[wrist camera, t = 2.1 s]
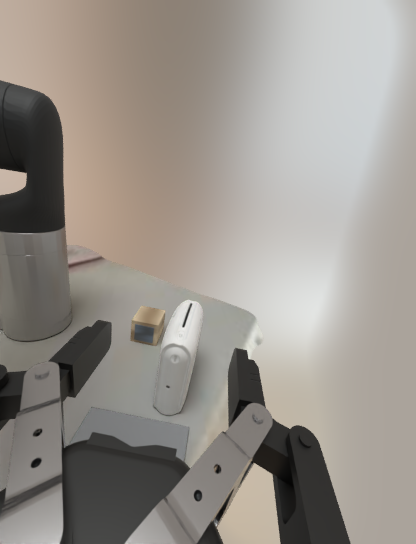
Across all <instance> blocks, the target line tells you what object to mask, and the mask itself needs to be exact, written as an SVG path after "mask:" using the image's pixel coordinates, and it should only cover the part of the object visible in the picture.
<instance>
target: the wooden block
mask: <svg viewBox="0 0 416 544" xmlns="http://www.w3.org/2000/svg"><path fill="white" fill-rule="evenodd" d="M164 318H165V310H160V309H155V308H150V307H145V306H141V307H140V309H139V310H138V312H137V313H136V315H135V316H134V318H133V319H132V326H131V341H134V342H139V343H144V344H149V345H153V346H156V345H157V343H158V340H159V338H160V336H161V333H162V331H163V326H164Z"/></svg>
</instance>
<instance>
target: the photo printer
mask: <svg viewBox="0 0 416 544" xmlns="http://www.w3.org/2000/svg"><path fill="white" fill-rule="evenodd" d="M202 324H203V310H202V307H201V305H200V304H199V303H198V302H196V301H191V300H186V301H184V302H182V303H181V304H180V305H179V306H178V307H177V308H176V310H175V312H174V313H173V315H172V317H171V319H170V322H169V324H168V326H167V329H166V331H165V334H164V337H163V341H162V345H161V350H160V358H159V365H158V373H157V380H156V388H155V395H154V403H153V405H154V407H156V408H157V410H158V411H159V412H160V413H162V414H164V415H174V414H176V413H180V411H181V409H182V407H183V405H184V402H185V399H186V395H187V391H188V387H189V383H190V379H191V375H192V371H193V367H194V362H195V357H196V353H197V348H198V343H199V338H200V334H201V329H202Z"/></svg>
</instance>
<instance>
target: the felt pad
mask: <svg viewBox="0 0 416 544" xmlns="http://www.w3.org/2000/svg"><path fill="white" fill-rule="evenodd" d="M188 431H189V427H187V426H182V425H177V424H172V423H167V422H162V421H158V420H153V419H148V418H143V417H138V416H133V415H128V414H123V413H119V412H114V411H109V410H104V409H99V408H94V407H91V409H90V410H89V412H88V414H87V415H86V417H85V419H84V420H83V422H82V424H81V425H80V427H79V429H78V430H77V432H76V434H75V435H74V437H73V439H72V441H71V442H70V444H69V445H71V444H73V443H75V442H78V441H82V440H88V439H89V438H90V436H91V434H92V432H96V433H101V434H106V435H111V436H114V437H116V438H118V439H119V440H121V441H123V442H125V443H127V444H128V445H130V446H133V447H137V446H148V445H160V446H165V447H170V448H175V449H177V452H176V457H178V458H179V459H181V460H182V461H183V462H184V458H185V451H186V444H187V438H188Z"/></svg>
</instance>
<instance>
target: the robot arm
mask: <svg viewBox="0 0 416 544" xmlns="http://www.w3.org/2000/svg"><path fill="white" fill-rule="evenodd" d="M0 169H6V170H12V171H18V172H24V173H27V181H26V186H25V187H24V188H23V189H22V190H20V191H18V192H15V193H11V194H6V195H0V329H2V330H3V331H4V333H5V335H6V336H7V337H9V338H11V339H14V340H18V341H34V340H40V339H44V338H47V337H50V336H53V335H55V334H57V333H59V332H61V331H63V330H64V329H65V328H66V327H67V326H68V325H69V324H70V322H71V319H72V314H71V299H70V285H69V271H68V258H67V244H66V231H65V215H64V186H63V135H62V126H61V122H60V117H59V114H58V112H57V109H56V107H55V105H54V104H53V102H52V101H51V100H50V98H49V97H47V96H46V95H45V94H43V93H40V92H38V91H35V90H32V89H29V88H25V87H22V86H18V85H14V84H11V83H8V82H4V81H0ZM110 345H111V322H106V321H101V320H98V321H96V323H95V324H94V325H93V326H92V327H88V326H87V327H85V328H83V329H82V330H80V331H78V332H77V333H76V334H75V335H74V336H73V338H71V339H70V340H69V341H68V343H66V344H65V345H64V346H63V347H62V348H61V349H60V350H59V351H58V352H57V353H56V354H55V355H54V356H53V357H52V358H51V359H50V360H49V361H48V362H42V363H39V364H37V365H35V366H33V367H31V368H30V369H29V370H28V371H21V372H7V369H6V367H5V366H3V365H0V430H1V429H2V428H3V427H4V425H5V424H6V423H7V422H8V421H9V420H10V419H15V418H16V420H15V427H14V435H13V442H12V450H11V457H10V465H9V472H8V480H7V487H6V488H5V489H4V490H2V491H1V492H0V544H223V542H222V539H221V537H220V535H219V532H218V530H217V526H218V525H219V523H220V521H221V520H222V518H223V516H224V514H225V513H226V511H227V509H228V508H229V506H230V504H231V502H232V500H233V498H234V496H235V494H236V493H237V491H238V489H239V488H240V486H241V484H242V483H243V481H244V479H245V478H246V476H247V474H248V473H249V471H250V469H251V468H252V466H253V464H254V463H256V464H257V465H259V466H260V467H262V468H264V469H266V470H267V471H269V472H270V473H272V474H273V482H274V490H275V499H276V508H277V516H278V525H279V533H280V542H281V544H350V541H349V537H348V534H347V531H346V528H345V524H344V521H343V518H342V515H341V512H340V508H339V505H338V502H337V499H336V496H335V493H334V489H333V486H332V483H331V480H330V476H329V473H328V470H327V467H326V464H325V460H324V457H323V454H322V451H321V448H320V444H319V442H318V440H317V439H316V437H315V436H314V434H313V433H311V431H309V430H308V429H306V428H305V427H302V426H294V427H292V428H291V429H289V428H287V427H285V426H283V425H281V424H279V423H278V422H276V421H275V420H274V419H272V416H271V414H270V413H269V411H268V410H267V409H266V407H265V402H264V396H263V391H262V385H261V380H260V374H259V368H258V366H257V365H256V363H255V361H254V360H249V359H248V354H247V350H243V349H238V348H235V349H234V352H233V355H232V359H231V362H230V366H229V371H228V409H229V428H228V430H227V431H226V432H221V433H220V434H219V435H218V437H217V438H216V439H215V440H214V441H213V443H212V444H211V445H210V446H209V447H208V448H207V450H206V451H205V452H204V453H203V454H202V456H201V457H200V458H199V459H198V460H197V462H196V463H195V464H194V465H193V466H192V467H191V469H190V468H189V467H188V465H187V464H186V463H185V462H183V461H182V460H181V459H179V458H178V457H176V452H177V449H175V448H170V447H165V446H160V445H148V446H137V447H133V446H130V445H128V444H127V443H125V442H123V441H121V440H119V439H118V438H116V437H114V436H111V435H106V434H101V433H96V432H92V434H91V436H90V438H89V439H88V440H82V441H78V442H75V443H73V444H71V445H68V446H66V447H65V436H64V415H63V401H64V400H65V399H66V397H67V396H69V397H74V398H75V397H76V395H77V394H78V393H79V391H80V390H81V388H82V387H83V386H84V384H85V383H86V381H87V380H88V379H89V377H90V376H91V374H92V373H93V371H94V370H95V369H96V367H97V366H98V364H99V363H100V362H101V360H102V359H103V357H104V356H105V355H106V353H107V352H108V350H109V348H110Z"/></svg>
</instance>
